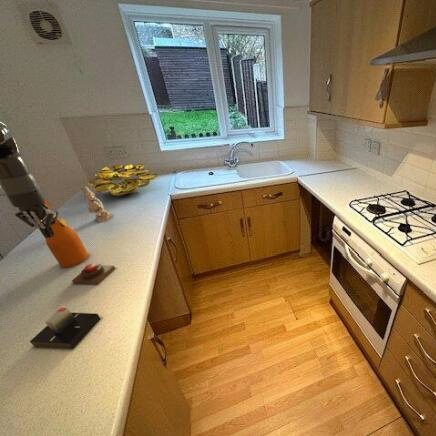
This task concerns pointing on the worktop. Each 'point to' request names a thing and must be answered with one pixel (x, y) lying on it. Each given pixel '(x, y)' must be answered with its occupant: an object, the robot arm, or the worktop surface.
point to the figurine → (96, 206)
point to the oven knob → (60, 320)
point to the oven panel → (67, 332)
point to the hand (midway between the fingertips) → (50, 236)
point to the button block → (94, 275)
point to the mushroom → (118, 188)
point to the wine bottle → (66, 244)
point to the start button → (90, 268)
